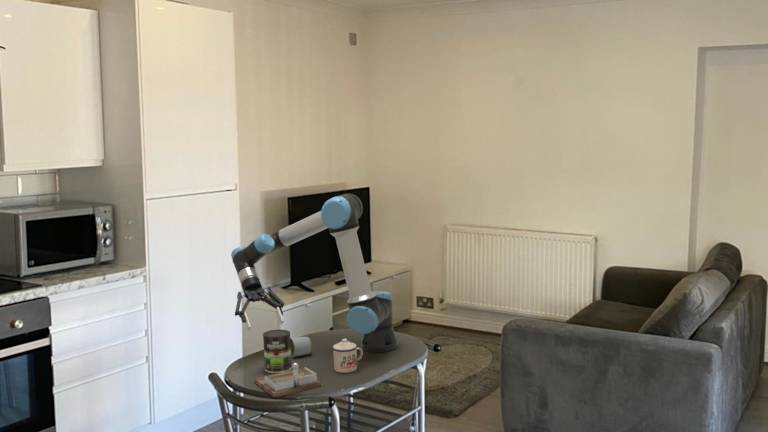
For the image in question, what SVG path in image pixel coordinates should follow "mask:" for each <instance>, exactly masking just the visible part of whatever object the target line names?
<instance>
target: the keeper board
mask: <svg viewBox="0 0 768 432" xmlns="http://www.w3.org/2000/svg"><path fill="white" fill-rule="evenodd" d="M265 376H266V375H264V376H261V377H256V378H254V384H255V385H257V384H258V385H259V386H258V385H257V386H258V387H260V388H261V389H262V388H263V389H264V390H263V389H262V390H263V391H264V392H266V393H267V394H269V395H270V396H271V397H273V398H277V397H281V396H285V395H286V396H287V395H291V394H294V393H299V392H303V391H307V390H311V389H316V388H320V387H322V382H321V381H319V379H317V382H316V383H311V384H307V385H303V386H299V387H298V388H290V389H285V390H281V391H277V392H275V391H273V390H272V389H271V388H269V387H268V386H267V385H265ZM268 376H269V377H270V378H271V379H273V380H274V381H275V382H279V381H283V380H288V379H292V378H293V369H291V370H289V371H287V372H283V373H273V374H269V375H268ZM298 376H299V377H301V376H304V369H301V368H298Z"/></svg>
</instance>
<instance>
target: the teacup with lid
mask: <svg viewBox="0 0 768 432" xmlns="http://www.w3.org/2000/svg"><path fill="white" fill-rule="evenodd" d="M332 350H333V366H334V367H333V369H334V371H335V372H337V373H342V374H344V373H345V374H347V373H352V372H355V371H356V370H357V369H358V361H360V360H361V359H362V357H363V354H364V353H363V351H364V350H363V349H362V348H361V347H358V346H357V344H356V343H354V342H351V341H349V340H348V339H347V338H342V339H341V340H340V341H339V342H338V343H335V344H334V345H333V347H332ZM358 351H359V355H358V354H357V353H358Z"/></svg>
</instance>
